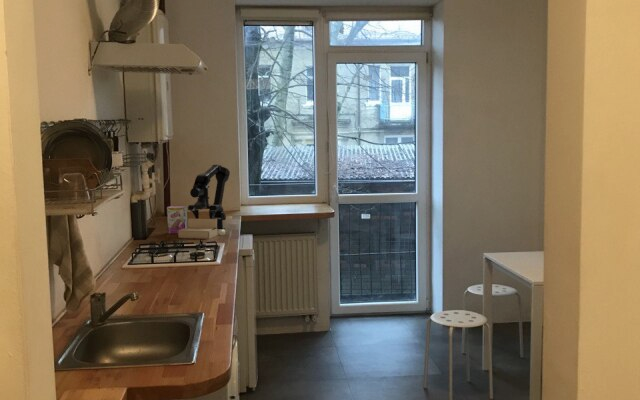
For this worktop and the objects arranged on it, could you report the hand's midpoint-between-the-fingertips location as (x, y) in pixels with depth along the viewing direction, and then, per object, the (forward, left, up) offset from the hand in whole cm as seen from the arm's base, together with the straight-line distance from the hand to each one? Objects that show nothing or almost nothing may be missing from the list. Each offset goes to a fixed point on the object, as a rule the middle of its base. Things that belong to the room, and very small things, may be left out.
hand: (204, 221), depth 403 cm
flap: (+3, 0, 0) cm, 3 cm away
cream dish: (-1, +9, -8) cm, 12 cm away
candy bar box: (0, -18, -8) cm, 20 cm away
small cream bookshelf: (+9, 0, -8) cm, 12 cm away
